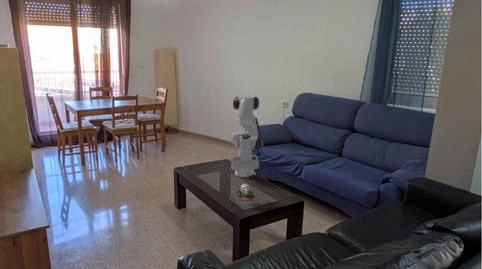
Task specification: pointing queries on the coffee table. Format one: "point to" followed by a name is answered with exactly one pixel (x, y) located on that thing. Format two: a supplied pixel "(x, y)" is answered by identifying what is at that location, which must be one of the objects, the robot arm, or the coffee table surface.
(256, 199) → the cradle board
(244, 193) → the white capsule with handle
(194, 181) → the coffee table surface
